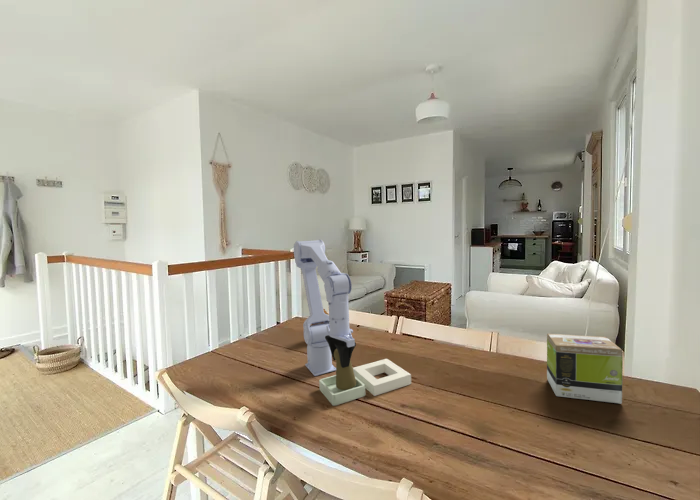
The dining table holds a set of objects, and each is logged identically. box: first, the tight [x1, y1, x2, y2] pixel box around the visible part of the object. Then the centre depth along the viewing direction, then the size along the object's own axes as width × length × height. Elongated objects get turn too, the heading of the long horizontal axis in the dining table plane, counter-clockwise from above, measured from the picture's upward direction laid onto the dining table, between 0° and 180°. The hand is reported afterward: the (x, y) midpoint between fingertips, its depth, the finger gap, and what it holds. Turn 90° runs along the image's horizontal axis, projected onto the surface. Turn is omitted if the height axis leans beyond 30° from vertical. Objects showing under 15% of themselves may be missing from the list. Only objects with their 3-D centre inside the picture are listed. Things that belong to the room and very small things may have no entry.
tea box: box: [546, 333, 624, 405], centre depth 89 cm, size 15×10×15 cm
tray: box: [318, 374, 366, 407], centre depth 94 cm, size 10×10×3 cm
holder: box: [353, 358, 412, 397], centre depth 100 cm, size 13×13×3 cm
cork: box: [334, 349, 356, 390], centre depth 93 cm, size 6×6×11 cm
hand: (340, 362), depth 93 cm, fingers closed on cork, 5 cm apart
